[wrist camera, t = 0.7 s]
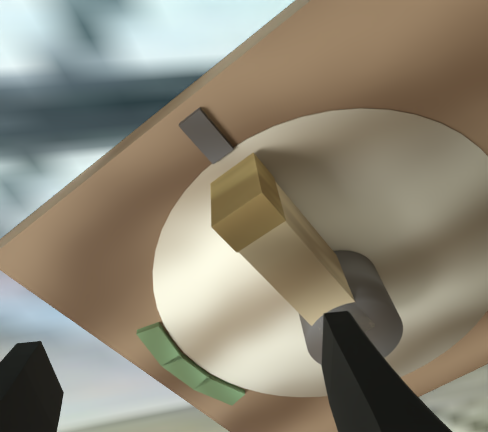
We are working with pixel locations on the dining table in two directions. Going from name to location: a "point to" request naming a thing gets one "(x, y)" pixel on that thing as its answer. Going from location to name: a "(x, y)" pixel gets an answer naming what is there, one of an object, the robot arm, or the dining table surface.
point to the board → (305, 199)
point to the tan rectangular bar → (300, 258)
